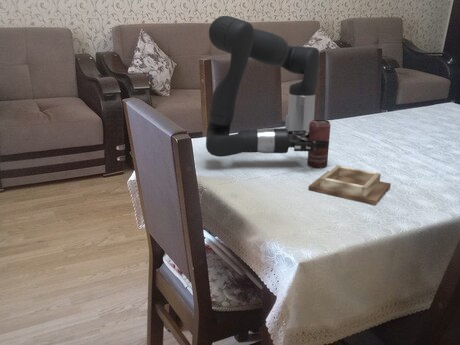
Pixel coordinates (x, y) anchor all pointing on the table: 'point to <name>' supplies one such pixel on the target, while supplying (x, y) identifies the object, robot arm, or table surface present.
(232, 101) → the robot arm
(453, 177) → the table surface
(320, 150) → the can
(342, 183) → the tray
